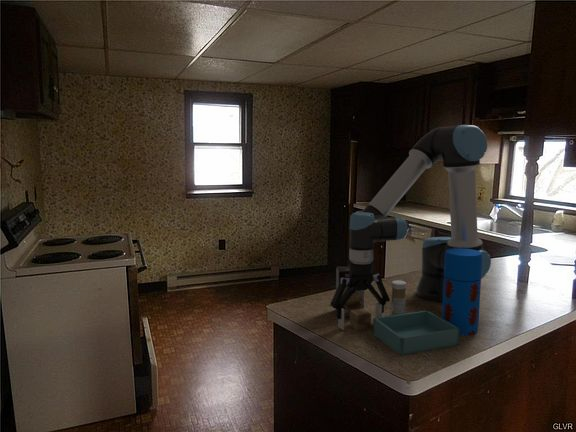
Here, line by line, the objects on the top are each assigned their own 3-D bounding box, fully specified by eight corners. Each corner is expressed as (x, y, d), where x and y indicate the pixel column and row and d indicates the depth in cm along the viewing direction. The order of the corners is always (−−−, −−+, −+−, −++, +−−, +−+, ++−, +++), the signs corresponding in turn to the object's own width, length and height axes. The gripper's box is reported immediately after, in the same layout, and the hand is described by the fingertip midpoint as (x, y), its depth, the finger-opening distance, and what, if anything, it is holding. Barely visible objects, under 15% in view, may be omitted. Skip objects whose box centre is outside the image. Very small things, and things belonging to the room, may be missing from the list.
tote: (426, 324, 140) (427, 310, 139) (459, 345, 125) (460, 328, 124) (373, 333, 134) (373, 318, 133) (400, 355, 119) (401, 338, 118)
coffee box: (337, 316, 148) (338, 271, 145) (335, 309, 154) (335, 266, 152) (364, 315, 148) (365, 270, 146) (360, 309, 154) (361, 265, 152)
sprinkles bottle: (394, 317, 147) (395, 279, 145) (407, 320, 144) (408, 281, 142) (388, 321, 143) (389, 282, 141) (402, 324, 140) (403, 284, 138)
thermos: (459, 338, 130) (463, 257, 126) (434, 325, 139) (437, 250, 136) (485, 331, 134) (490, 253, 130) (459, 319, 144) (463, 246, 140)
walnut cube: (363, 322, 142) (363, 308, 142) (370, 328, 138) (371, 313, 137) (349, 324, 141) (350, 310, 140) (356, 330, 136) (357, 315, 135)
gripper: (329, 267, 129) (329, 335, 132) (401, 260, 136) (399, 324, 139) (320, 261, 136) (320, 325, 139) (389, 255, 143) (387, 316, 146)
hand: (360, 325), depth 139 cm, fingers open, 13 cm apart
